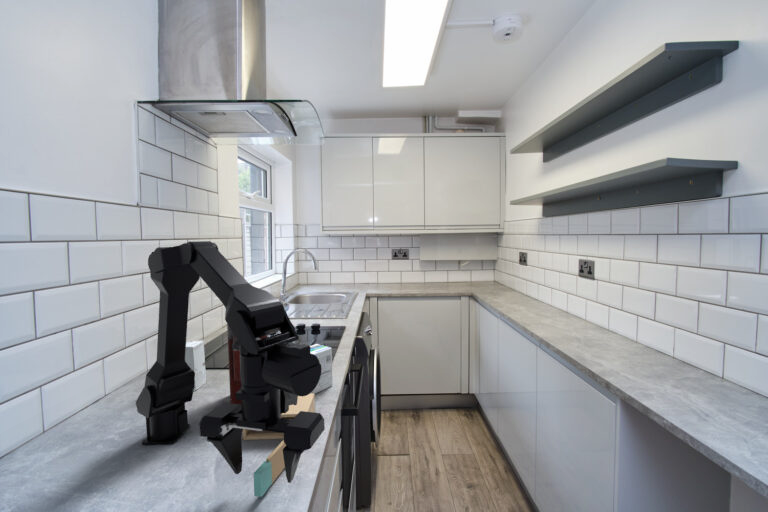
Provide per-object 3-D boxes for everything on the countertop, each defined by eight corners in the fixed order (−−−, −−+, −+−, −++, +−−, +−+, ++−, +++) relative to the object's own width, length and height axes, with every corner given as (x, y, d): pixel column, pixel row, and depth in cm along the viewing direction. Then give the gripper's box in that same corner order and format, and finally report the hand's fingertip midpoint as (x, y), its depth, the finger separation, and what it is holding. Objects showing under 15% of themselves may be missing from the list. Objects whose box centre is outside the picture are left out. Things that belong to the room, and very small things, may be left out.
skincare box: (196, 391, 92) (193, 346, 91) (178, 391, 91) (176, 347, 91) (207, 381, 98) (205, 340, 97) (191, 382, 98) (189, 340, 97)
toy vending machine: (229, 413, 80) (224, 294, 78) (234, 393, 90) (229, 287, 89) (269, 406, 82) (265, 291, 81) (269, 387, 93) (266, 285, 92)
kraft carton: (242, 439, 69) (241, 415, 69) (257, 416, 78) (257, 395, 78) (307, 437, 69) (306, 413, 69) (315, 414, 78) (314, 393, 78)
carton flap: (261, 499, 52) (260, 471, 52) (254, 498, 53) (253, 470, 53) (309, 438, 68) (308, 416, 68) (304, 437, 69) (303, 416, 68)
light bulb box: (317, 379, 98) (316, 342, 97) (333, 385, 94) (332, 347, 93) (286, 393, 90) (284, 352, 89) (301, 400, 85) (300, 358, 85)
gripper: (336, 365, 59) (338, 452, 60) (241, 358, 63) (244, 440, 64) (307, 394, 48) (310, 500, 49) (194, 383, 52) (199, 481, 53)
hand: (264, 476), depth 54 cm, fingers open, 9 cm apart
